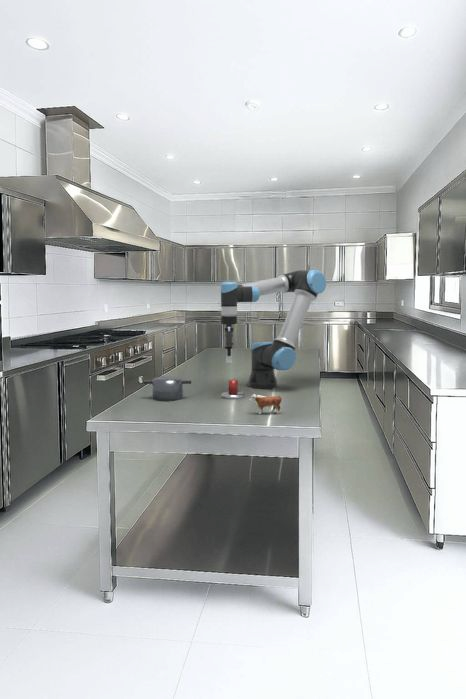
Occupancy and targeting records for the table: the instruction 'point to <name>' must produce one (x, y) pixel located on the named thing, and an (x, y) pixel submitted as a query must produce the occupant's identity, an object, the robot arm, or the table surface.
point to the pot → (167, 388)
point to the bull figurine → (266, 402)
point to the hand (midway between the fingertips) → (228, 360)
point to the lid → (232, 391)
